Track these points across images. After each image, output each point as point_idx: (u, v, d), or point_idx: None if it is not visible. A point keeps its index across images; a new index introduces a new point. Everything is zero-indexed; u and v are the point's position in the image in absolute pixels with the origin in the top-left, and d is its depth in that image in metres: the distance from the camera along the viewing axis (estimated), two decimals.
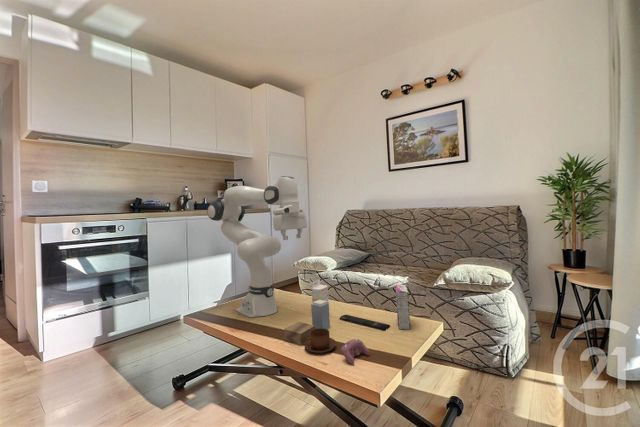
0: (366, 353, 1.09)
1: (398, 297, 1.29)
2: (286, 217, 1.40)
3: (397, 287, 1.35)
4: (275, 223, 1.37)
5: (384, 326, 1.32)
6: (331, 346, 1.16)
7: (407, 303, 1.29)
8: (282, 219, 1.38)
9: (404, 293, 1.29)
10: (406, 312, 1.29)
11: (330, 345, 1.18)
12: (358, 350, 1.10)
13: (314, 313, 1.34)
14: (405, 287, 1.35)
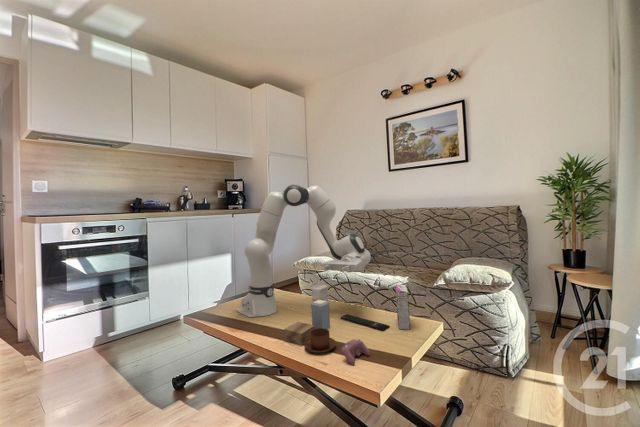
0: (367, 353, 1.09)
1: (398, 297, 1.29)
2: None
3: (397, 287, 1.35)
4: (359, 265, 1.43)
5: (383, 327, 1.31)
6: (331, 346, 1.17)
7: (407, 303, 1.29)
8: None
9: (404, 293, 1.29)
10: (406, 312, 1.29)
11: (330, 345, 1.18)
12: (359, 350, 1.10)
13: (314, 313, 1.34)
14: (405, 287, 1.35)
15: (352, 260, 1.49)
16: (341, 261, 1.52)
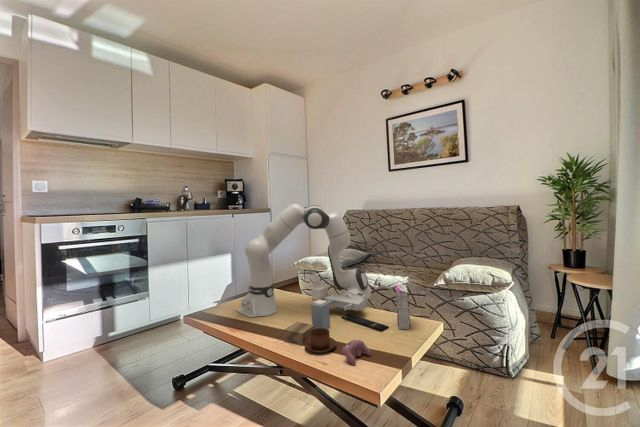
0: (367, 353, 1.09)
1: (398, 297, 1.29)
2: None
3: (397, 287, 1.35)
4: (362, 304, 1.45)
5: (382, 327, 1.31)
6: (331, 346, 1.17)
7: (407, 303, 1.29)
8: None
9: (404, 293, 1.29)
10: (406, 312, 1.29)
11: (330, 345, 1.18)
12: (359, 350, 1.09)
13: (314, 313, 1.34)
14: (405, 287, 1.35)
15: (354, 297, 1.50)
16: (343, 297, 1.54)
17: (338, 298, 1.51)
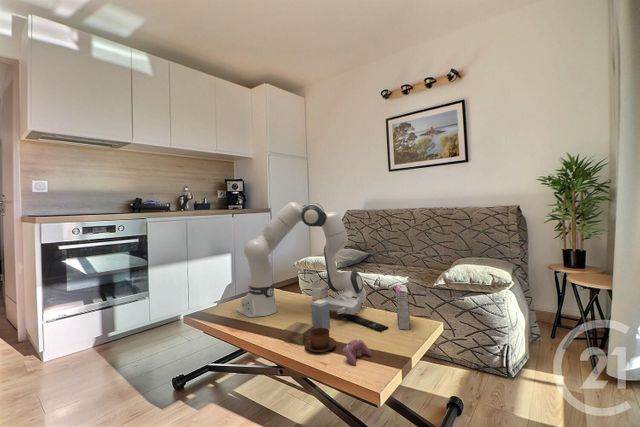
0: (368, 354, 1.09)
1: (398, 297, 1.29)
2: None
3: (397, 287, 1.35)
4: (356, 308, 1.40)
5: (381, 327, 1.30)
6: (331, 345, 1.17)
7: (407, 303, 1.29)
8: None
9: (404, 293, 1.29)
10: (406, 312, 1.29)
11: (330, 344, 1.18)
12: (360, 351, 1.09)
13: (314, 313, 1.34)
14: (405, 287, 1.35)
15: (348, 300, 1.46)
16: (337, 300, 1.49)
17: (332, 301, 1.47)
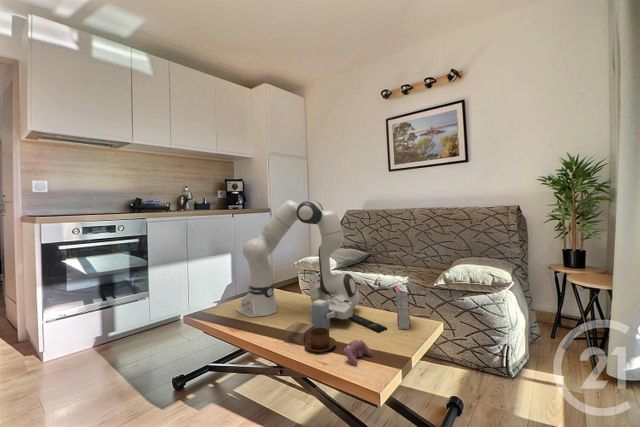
0: (369, 354, 1.08)
1: (399, 297, 1.29)
2: None
3: (397, 287, 1.35)
4: (348, 312, 1.35)
5: (380, 328, 1.30)
6: (331, 345, 1.17)
7: (407, 303, 1.29)
8: None
9: (404, 293, 1.29)
10: (406, 312, 1.29)
11: (330, 344, 1.18)
12: (361, 351, 1.09)
13: (314, 313, 1.34)
14: (405, 287, 1.35)
15: (340, 305, 1.40)
16: None
17: None
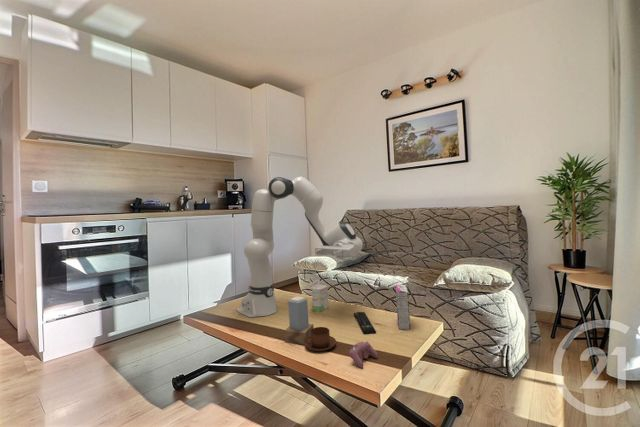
0: (374, 356, 1.07)
1: (398, 297, 1.29)
2: None
3: (397, 287, 1.35)
4: (352, 250, 1.41)
5: (368, 330, 1.28)
6: (331, 344, 1.18)
7: (407, 303, 1.29)
8: None
9: (404, 293, 1.29)
10: (406, 312, 1.29)
11: (330, 343, 1.19)
12: (366, 353, 1.07)
13: (291, 310, 1.24)
14: (405, 287, 1.35)
15: (344, 246, 1.46)
16: (333, 246, 1.50)
17: (328, 247, 1.47)
